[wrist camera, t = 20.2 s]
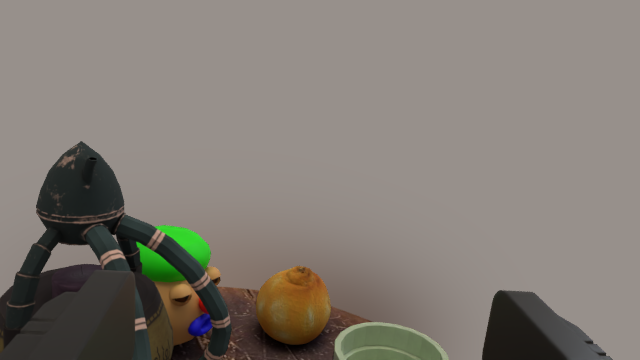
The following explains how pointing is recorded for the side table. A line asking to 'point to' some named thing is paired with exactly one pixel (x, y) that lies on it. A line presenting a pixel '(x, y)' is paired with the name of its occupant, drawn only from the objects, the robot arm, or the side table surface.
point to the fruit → (293, 306)
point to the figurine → (180, 284)
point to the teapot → (105, 257)
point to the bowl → (385, 343)
